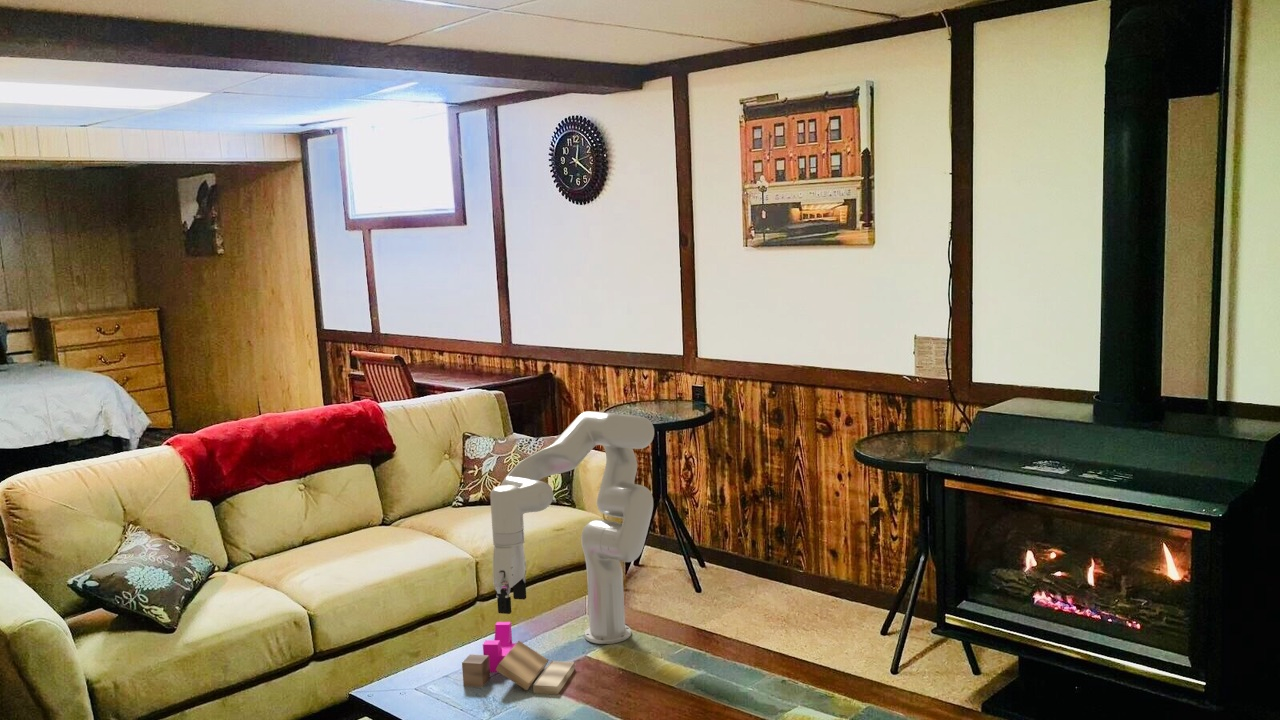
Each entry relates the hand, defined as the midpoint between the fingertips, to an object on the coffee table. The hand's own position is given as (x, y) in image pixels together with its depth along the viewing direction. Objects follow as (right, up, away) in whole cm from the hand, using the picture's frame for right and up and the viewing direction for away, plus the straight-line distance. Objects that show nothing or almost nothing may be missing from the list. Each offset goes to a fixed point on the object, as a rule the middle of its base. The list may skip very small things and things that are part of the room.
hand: (512, 605), depth 248 cm
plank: (+2, -16, +3) cm, 17 cm away
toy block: (-4, -18, +16) cm, 25 cm away
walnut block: (-9, -20, +3) cm, 22 cm away
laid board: (+10, -19, +2) cm, 21 cm away
